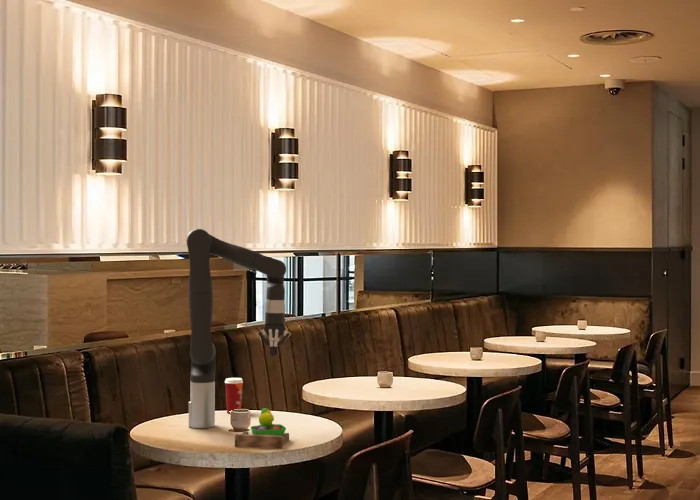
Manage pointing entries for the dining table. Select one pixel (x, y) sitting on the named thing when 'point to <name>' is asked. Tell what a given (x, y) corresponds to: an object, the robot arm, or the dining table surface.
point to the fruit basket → (267, 425)
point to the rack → (261, 440)
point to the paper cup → (233, 393)
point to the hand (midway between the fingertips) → (273, 356)
